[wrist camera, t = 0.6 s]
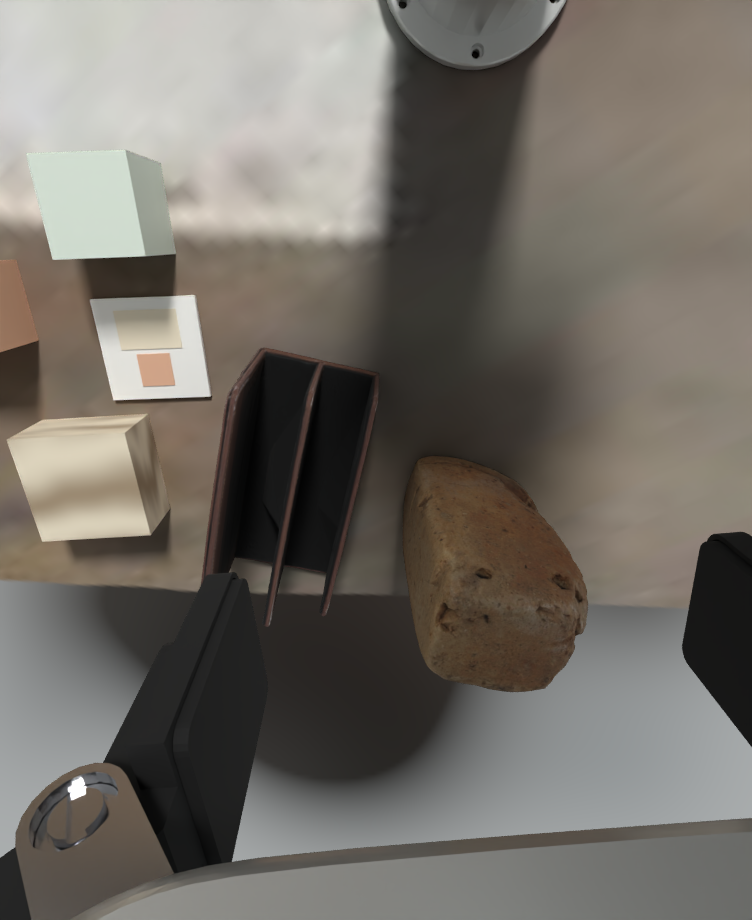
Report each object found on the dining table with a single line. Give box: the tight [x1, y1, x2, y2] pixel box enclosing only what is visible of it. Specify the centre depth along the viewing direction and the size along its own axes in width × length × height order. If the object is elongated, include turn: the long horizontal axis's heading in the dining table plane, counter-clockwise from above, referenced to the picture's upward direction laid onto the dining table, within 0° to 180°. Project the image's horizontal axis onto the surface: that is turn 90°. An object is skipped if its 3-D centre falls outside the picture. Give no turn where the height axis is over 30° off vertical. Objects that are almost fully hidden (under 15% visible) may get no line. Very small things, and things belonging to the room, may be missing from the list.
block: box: [403, 456, 588, 692], centre depth 38 cm, size 11×8×20 cm
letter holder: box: [201, 348, 379, 627], centre depth 40 cm, size 10×20×14 cm, turn 167°
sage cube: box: [26, 150, 176, 260], centre depth 36 cm, size 6×6×6 cm
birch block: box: [7, 414, 170, 541], centre depth 44 cm, size 9×9×5 cm
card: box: [90, 295, 212, 400], centre depth 42 cm, size 8×8×1 cm
